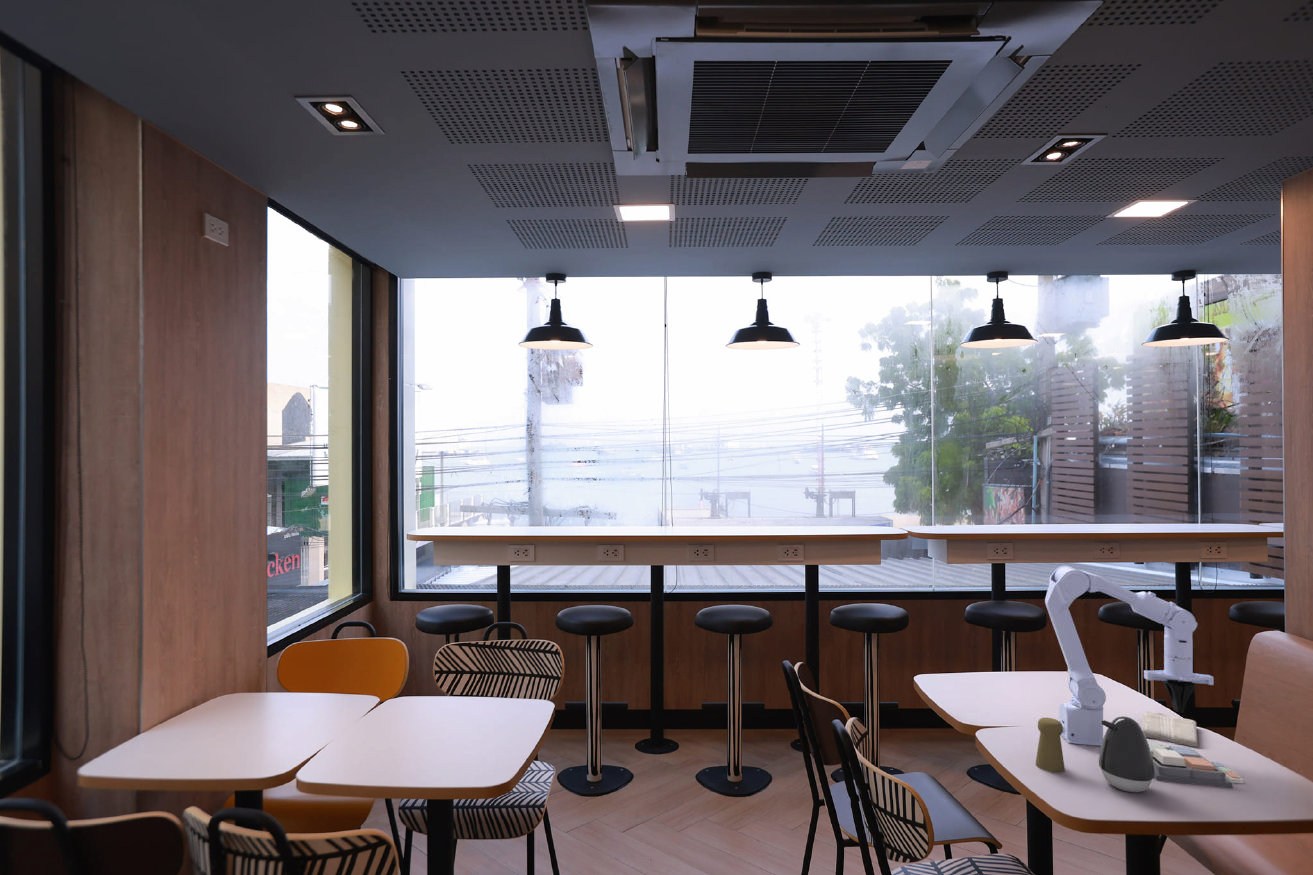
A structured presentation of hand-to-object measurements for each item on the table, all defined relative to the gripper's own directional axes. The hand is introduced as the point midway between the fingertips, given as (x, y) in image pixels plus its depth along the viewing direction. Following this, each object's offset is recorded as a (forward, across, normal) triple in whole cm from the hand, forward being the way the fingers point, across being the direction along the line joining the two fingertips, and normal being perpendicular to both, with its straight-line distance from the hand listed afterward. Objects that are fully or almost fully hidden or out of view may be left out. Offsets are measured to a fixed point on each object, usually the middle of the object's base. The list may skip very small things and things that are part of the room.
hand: (1178, 710), depth 175 cm
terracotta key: (+8, -3, -15) cm, 17 cm away
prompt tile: (+10, +4, -12) cm, 16 cm away
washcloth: (+11, +4, +14) cm, 18 cm away
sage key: (+8, -9, -9) cm, 15 cm away
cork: (+10, -35, -18) cm, 41 cm away
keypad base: (+10, -6, -12) cm, 17 cm away
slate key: (+8, -3, -9) cm, 13 cm away
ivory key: (+7, -9, -15) cm, 19 cm away
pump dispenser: (+10, -22, -25) cm, 35 cm away
